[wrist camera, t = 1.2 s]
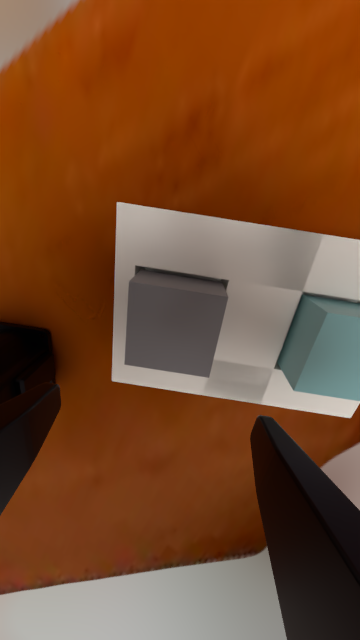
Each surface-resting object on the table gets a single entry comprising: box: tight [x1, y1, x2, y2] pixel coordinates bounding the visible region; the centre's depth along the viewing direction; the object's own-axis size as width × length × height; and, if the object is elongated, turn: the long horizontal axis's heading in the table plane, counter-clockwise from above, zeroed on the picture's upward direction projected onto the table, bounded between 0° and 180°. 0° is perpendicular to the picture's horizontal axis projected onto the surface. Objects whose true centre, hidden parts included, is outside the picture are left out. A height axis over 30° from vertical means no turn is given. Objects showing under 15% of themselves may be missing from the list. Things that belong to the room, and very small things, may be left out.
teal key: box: [277, 295, 360, 401], centre depth 14 cm, size 5×5×3 cm
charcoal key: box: [124, 269, 228, 378], centre depth 14 cm, size 5×5×3 cm
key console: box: [112, 202, 360, 418], centre depth 17 cm, size 18×12×4 cm, turn 82°
